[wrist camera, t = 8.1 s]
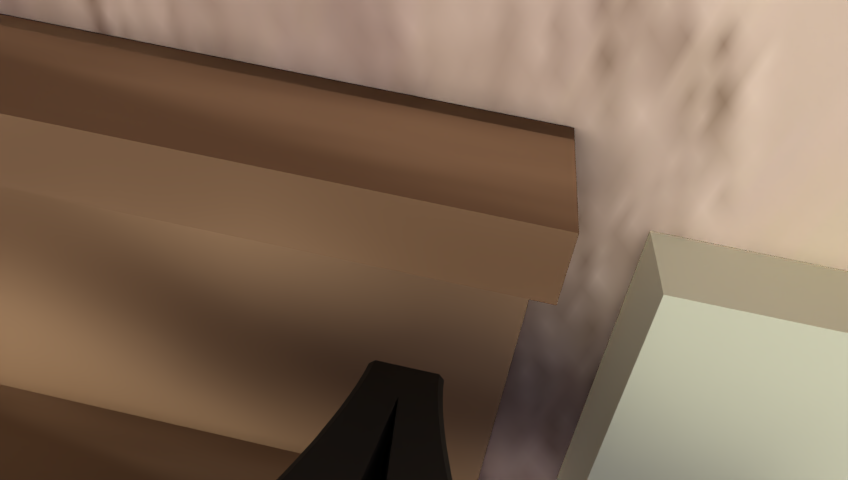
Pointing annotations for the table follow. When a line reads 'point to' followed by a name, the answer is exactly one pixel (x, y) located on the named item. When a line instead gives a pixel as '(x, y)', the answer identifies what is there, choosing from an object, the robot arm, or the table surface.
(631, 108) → the table surface
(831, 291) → the cover slab
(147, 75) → the slide box
